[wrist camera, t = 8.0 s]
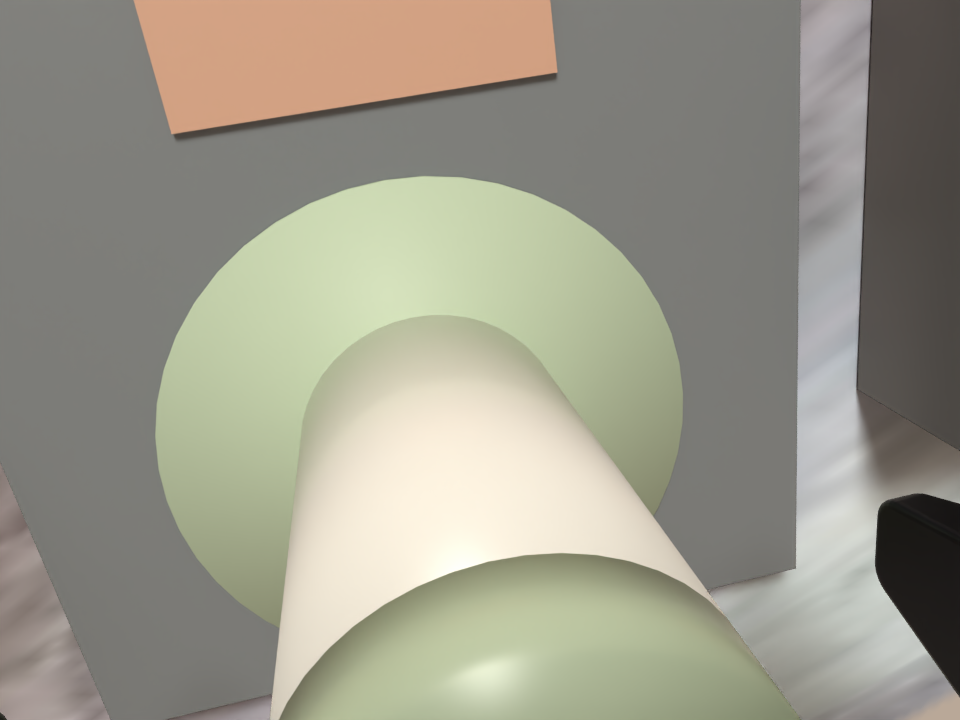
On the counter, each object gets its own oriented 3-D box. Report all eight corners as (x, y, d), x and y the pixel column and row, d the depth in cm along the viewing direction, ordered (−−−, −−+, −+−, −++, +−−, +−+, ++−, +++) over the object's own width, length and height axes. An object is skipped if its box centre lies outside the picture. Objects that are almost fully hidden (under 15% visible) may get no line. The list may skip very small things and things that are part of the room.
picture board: (776, -518, 9) (810, -566, 8) (778, 549, 14) (798, 571, 14) (-346, -431, 8) (-411, -479, 7) (125, 703, 13) (114, 736, 12)
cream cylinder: (547, 291, 11) (842, 582, 5) (575, 523, 12) (830, 995, 6) (271, 344, 11) (163, 749, 4) (333, 579, 12) (325, 1152, 6)
